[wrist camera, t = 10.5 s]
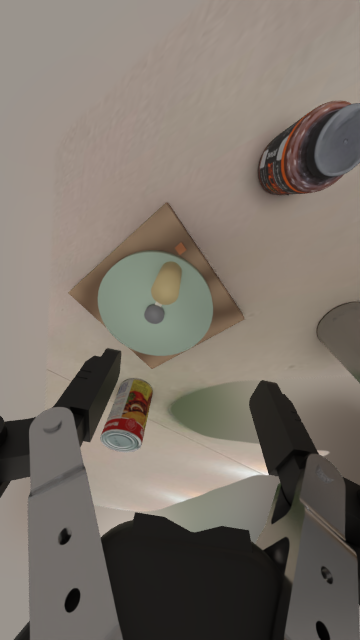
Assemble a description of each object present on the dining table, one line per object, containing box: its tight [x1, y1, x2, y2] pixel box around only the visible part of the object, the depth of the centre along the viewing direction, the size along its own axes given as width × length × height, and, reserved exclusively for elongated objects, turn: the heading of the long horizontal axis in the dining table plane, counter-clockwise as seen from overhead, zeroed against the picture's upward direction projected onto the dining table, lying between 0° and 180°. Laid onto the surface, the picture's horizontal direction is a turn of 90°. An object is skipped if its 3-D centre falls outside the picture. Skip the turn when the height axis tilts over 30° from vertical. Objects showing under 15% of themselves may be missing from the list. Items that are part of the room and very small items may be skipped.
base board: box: [68, 203, 244, 369], centre depth 33 cm, size 21×21×2 cm
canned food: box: [100, 379, 153, 452], centre depth 42 cm, size 8×8×12 cm
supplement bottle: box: [258, 101, 360, 195], centre depth 19 cm, size 6×6×11 cm
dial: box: [98, 250, 213, 356], centre depth 28 cm, size 18×18×9 cm
